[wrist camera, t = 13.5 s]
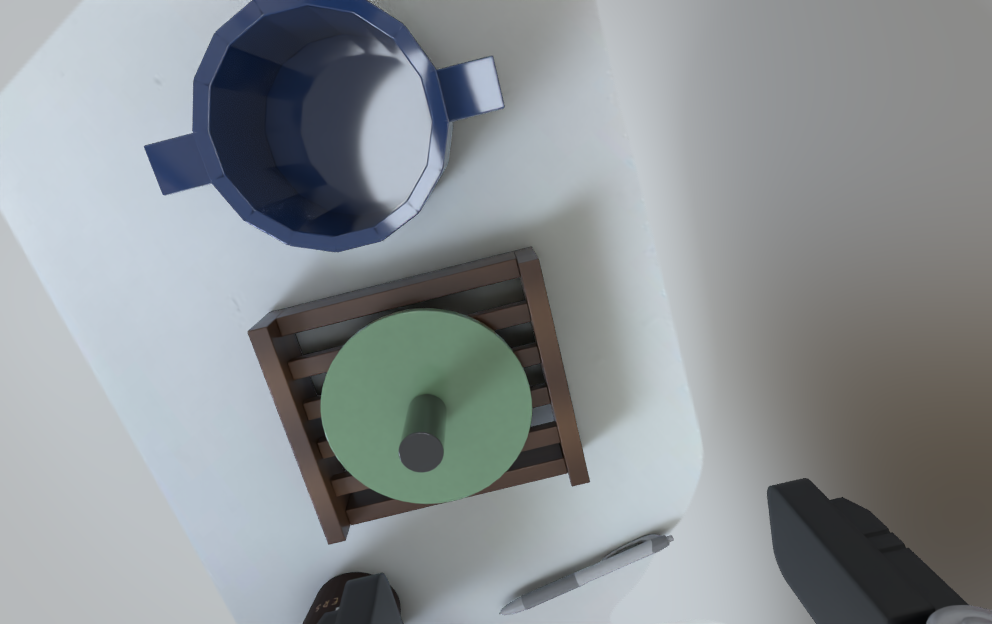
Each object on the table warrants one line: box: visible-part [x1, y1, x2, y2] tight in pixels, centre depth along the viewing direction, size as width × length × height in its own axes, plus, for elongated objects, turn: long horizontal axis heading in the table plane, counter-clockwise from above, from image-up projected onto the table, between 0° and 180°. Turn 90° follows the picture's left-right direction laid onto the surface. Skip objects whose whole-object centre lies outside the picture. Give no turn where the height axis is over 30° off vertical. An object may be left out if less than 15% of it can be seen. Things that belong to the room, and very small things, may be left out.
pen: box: [499, 534, 673, 615], centre depth 45 cm, size 1×14×1 cm, turn 116°
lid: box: [321, 308, 532, 504], centre depth 35 cm, size 13×13×6 cm
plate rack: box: [248, 247, 590, 544], centre depth 39 cm, size 15×17×4 cm
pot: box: [144, 0, 505, 252], centre depth 32 cm, size 12×17×8 cm
